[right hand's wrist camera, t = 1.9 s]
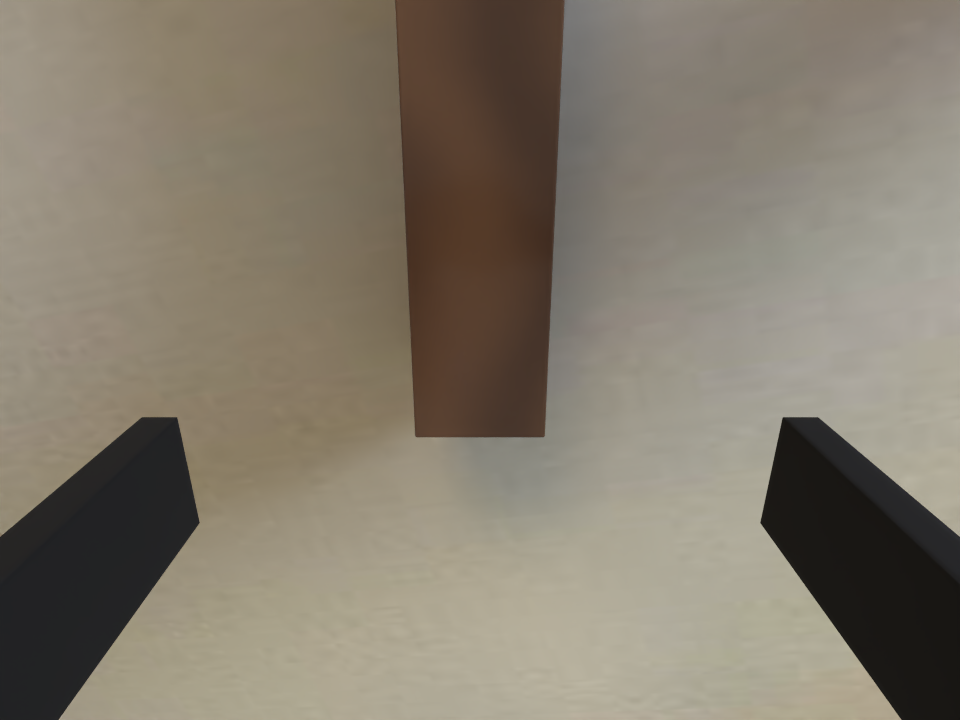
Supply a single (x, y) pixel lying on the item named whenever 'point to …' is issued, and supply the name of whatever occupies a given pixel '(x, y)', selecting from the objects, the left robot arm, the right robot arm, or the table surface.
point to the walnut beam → (479, 208)
